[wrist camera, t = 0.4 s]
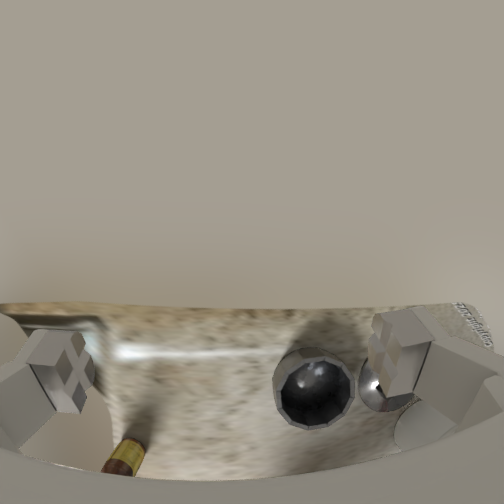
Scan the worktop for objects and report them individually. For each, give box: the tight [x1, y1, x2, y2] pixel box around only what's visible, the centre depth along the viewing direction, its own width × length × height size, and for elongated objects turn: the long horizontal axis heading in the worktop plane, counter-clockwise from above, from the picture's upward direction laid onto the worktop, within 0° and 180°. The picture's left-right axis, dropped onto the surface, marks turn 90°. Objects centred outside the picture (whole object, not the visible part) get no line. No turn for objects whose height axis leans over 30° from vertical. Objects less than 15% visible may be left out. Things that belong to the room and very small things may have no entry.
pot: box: [272, 347, 355, 430], centre depth 56 cm, size 14×14×8 cm
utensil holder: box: [394, 400, 459, 452], centre depth 51 cm, size 15×15×18 cm
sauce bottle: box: [101, 438, 145, 477], centre depth 48 cm, size 6×6×20 cm
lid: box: [358, 360, 415, 412], centre depth 58 cm, size 15×15×6 cm
